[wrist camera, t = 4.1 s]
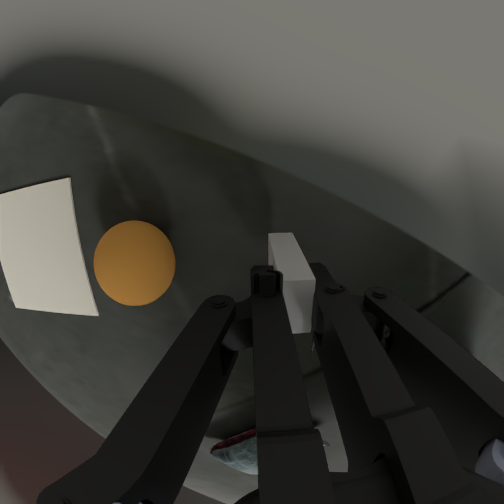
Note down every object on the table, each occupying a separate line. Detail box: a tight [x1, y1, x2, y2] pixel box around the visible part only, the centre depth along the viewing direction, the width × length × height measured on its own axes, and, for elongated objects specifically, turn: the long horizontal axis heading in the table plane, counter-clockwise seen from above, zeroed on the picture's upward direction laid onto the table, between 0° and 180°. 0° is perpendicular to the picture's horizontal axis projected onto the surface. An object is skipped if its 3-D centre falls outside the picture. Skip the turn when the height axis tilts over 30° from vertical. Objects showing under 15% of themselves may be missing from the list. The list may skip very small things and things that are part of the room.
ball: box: [94, 220, 175, 306], centre depth 17 cm, size 6×6×6 cm
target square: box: [0, 177, 99, 316], centre depth 19 cm, size 12×12×1 cm
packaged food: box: [210, 428, 330, 474], centre depth 26 cm, size 9×12×5 cm
